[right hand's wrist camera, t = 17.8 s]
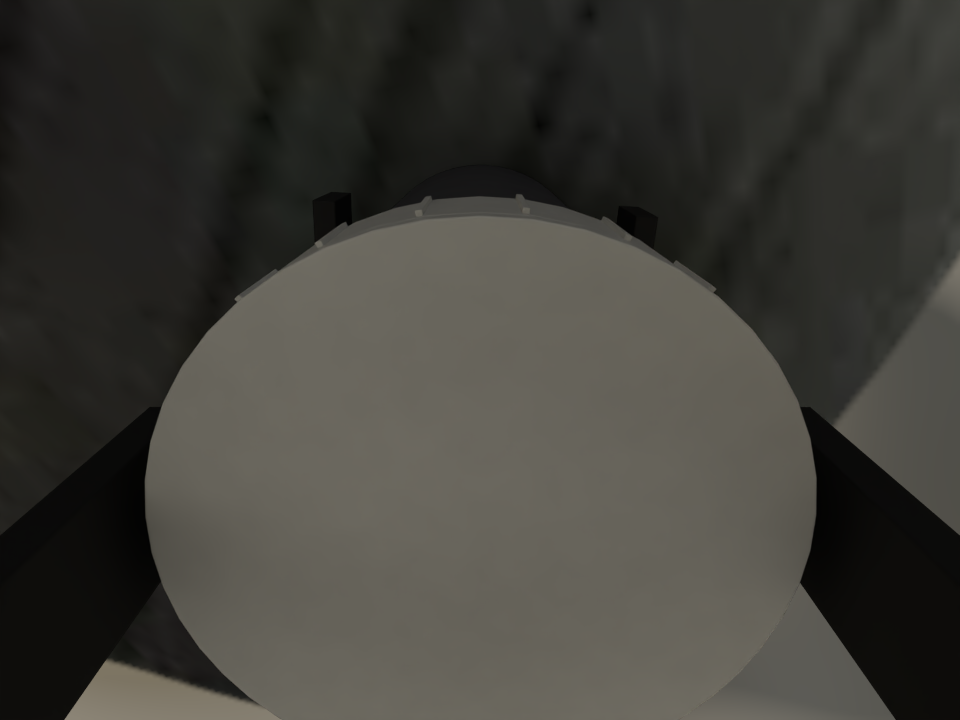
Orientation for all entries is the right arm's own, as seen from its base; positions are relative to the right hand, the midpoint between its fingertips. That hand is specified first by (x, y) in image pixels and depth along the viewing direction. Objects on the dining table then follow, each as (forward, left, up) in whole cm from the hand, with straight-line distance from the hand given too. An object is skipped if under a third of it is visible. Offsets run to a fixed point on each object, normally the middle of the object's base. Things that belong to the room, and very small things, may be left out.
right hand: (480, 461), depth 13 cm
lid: (0, 0, +3) cm, 3 cm away
